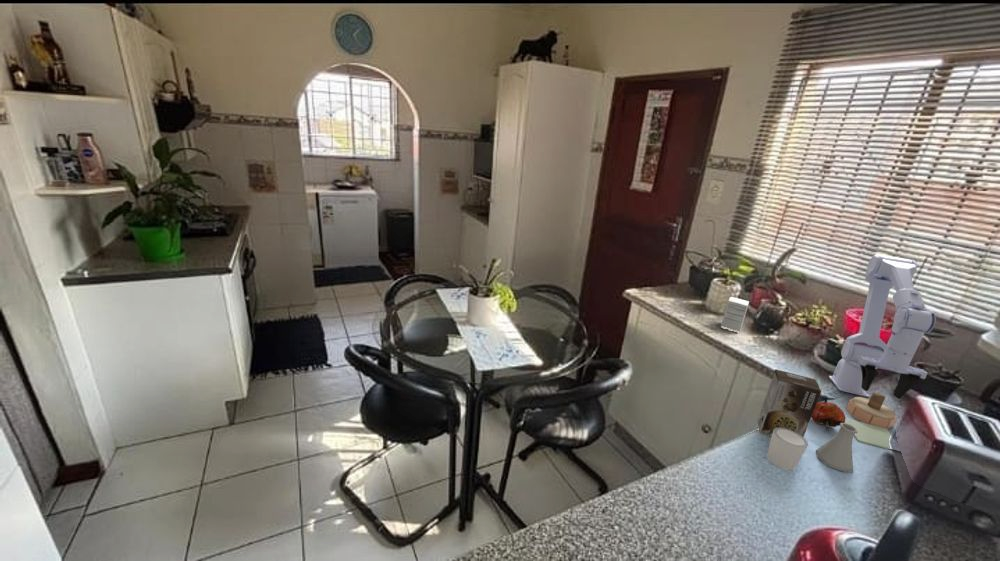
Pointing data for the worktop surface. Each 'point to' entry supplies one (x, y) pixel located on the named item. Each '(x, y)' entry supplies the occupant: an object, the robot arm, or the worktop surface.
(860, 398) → the lid
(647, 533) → the worktop surface
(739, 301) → the supplement box
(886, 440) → the mat
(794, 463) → the white cylinder
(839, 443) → the flask
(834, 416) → the pomegranate
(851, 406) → the dish
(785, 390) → the coffee box
